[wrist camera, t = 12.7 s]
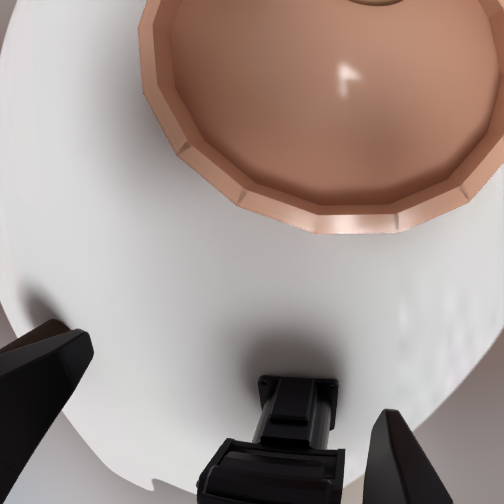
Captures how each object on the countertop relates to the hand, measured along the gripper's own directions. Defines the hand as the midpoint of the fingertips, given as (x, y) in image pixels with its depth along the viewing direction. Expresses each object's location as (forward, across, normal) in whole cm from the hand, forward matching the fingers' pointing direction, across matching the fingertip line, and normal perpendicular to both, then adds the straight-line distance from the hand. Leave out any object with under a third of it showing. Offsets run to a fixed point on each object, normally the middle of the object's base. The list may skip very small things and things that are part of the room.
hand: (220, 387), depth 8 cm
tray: (+13, -2, -12) cm, 18 cm away
